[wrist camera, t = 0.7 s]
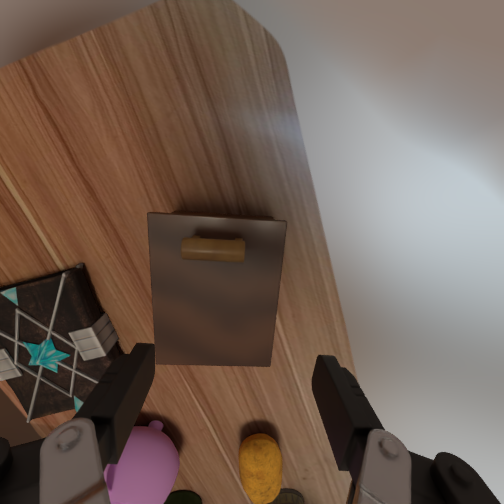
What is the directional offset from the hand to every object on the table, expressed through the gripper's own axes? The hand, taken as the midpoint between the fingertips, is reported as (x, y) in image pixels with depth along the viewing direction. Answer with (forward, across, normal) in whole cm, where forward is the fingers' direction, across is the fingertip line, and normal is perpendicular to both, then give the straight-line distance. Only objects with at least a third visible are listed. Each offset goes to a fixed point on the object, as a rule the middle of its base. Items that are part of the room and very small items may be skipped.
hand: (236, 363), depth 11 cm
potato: (+22, -8, +40) cm, 46 cm away
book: (+22, +25, +18) cm, 38 cm away
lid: (+13, +2, +4) cm, 14 cm away
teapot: (+22, +13, +40) cm, 47 cm away
